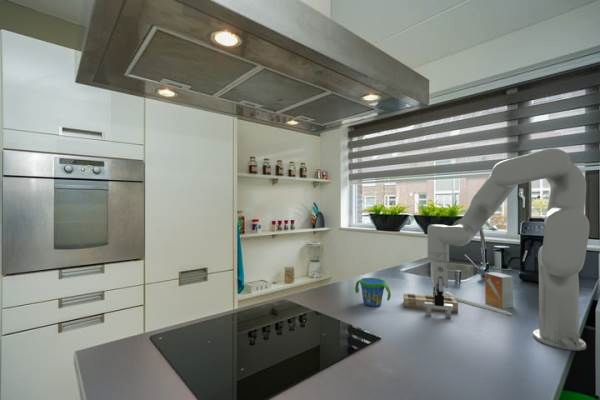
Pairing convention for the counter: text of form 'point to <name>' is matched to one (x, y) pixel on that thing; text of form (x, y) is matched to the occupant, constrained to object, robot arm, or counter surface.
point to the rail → (418, 301)
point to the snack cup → (372, 291)
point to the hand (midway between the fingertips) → (438, 303)
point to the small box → (499, 289)
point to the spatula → (476, 304)
